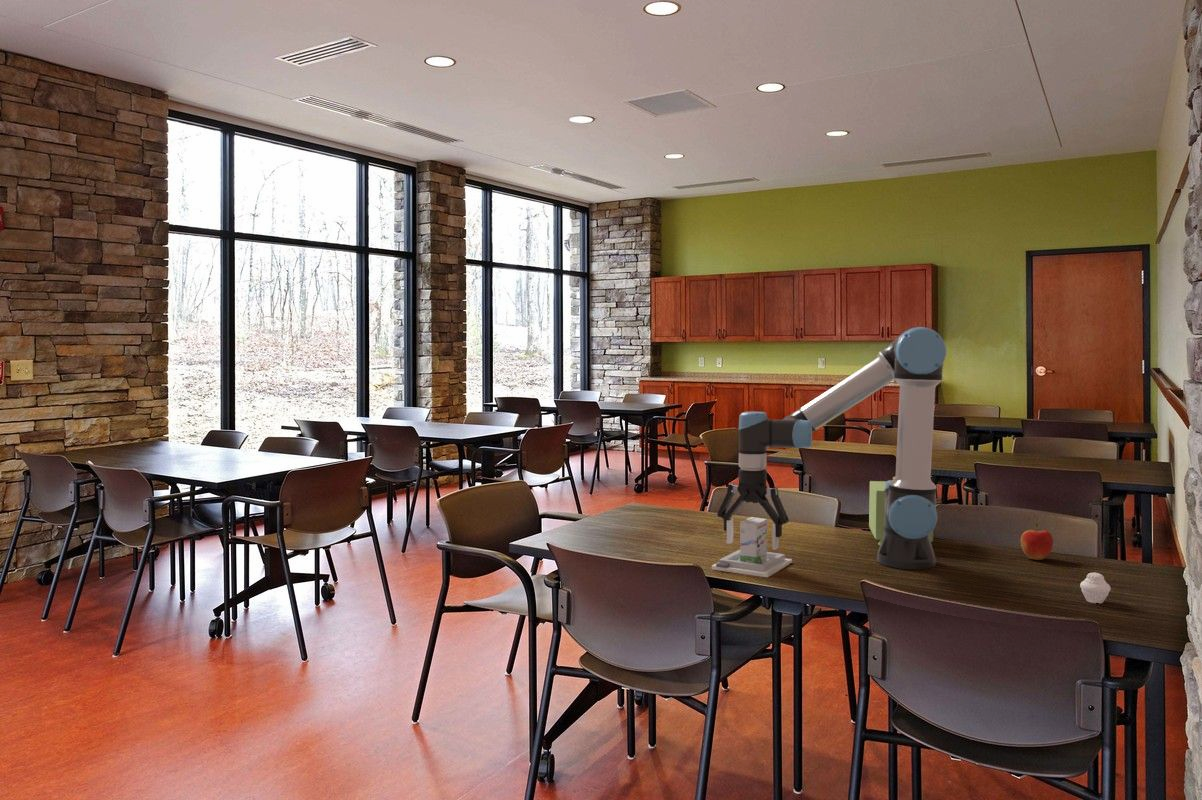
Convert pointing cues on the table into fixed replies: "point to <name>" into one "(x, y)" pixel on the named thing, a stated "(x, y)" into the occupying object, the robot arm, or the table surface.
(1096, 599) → the muffin
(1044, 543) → the apple
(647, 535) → the table surface
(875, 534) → the container
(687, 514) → the table surface
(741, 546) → the ink box
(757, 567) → the white square tray
